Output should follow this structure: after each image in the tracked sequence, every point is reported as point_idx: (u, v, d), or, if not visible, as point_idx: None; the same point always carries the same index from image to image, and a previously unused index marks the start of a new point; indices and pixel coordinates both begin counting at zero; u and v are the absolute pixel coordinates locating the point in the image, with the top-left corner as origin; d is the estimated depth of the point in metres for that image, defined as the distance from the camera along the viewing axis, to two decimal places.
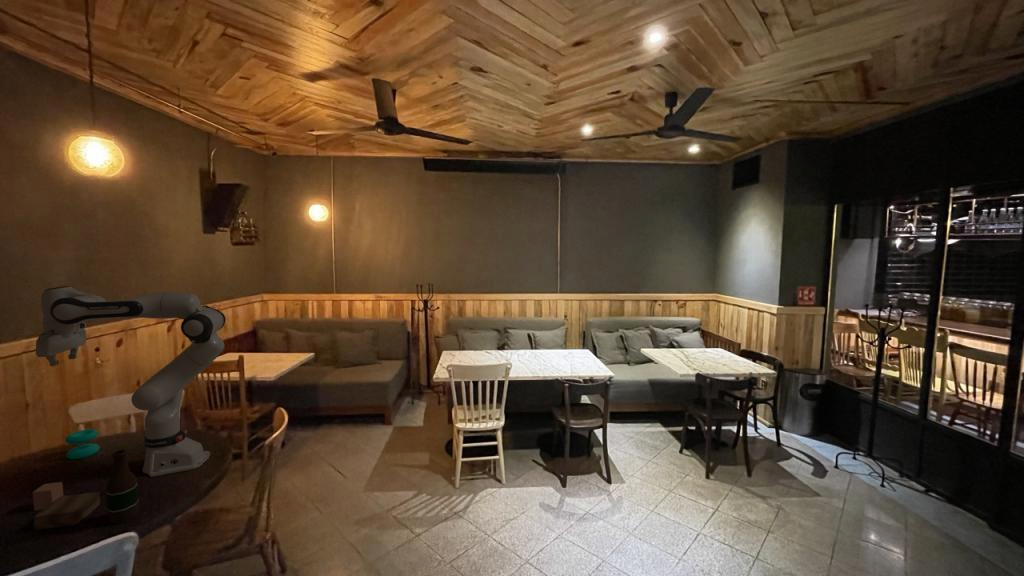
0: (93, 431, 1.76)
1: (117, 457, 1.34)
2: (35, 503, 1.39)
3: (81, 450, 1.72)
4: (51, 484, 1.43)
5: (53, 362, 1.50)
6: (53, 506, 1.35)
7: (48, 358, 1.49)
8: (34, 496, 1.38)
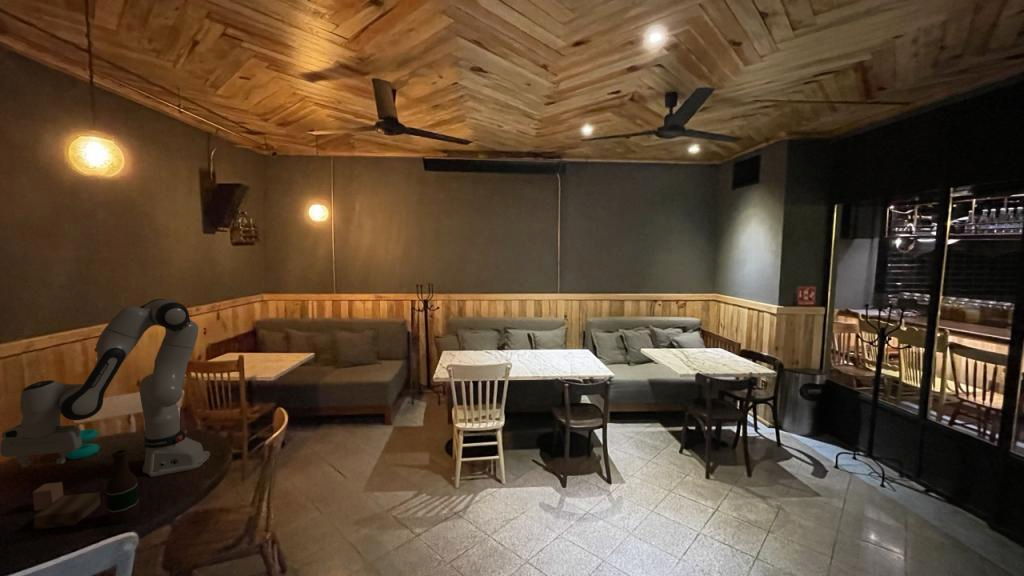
0: (93, 431, 1.76)
1: (117, 457, 1.34)
2: (35, 503, 1.39)
3: (81, 450, 1.72)
4: (51, 484, 1.43)
5: (64, 458, 1.42)
6: (53, 506, 1.35)
7: (65, 454, 1.41)
8: (34, 496, 1.38)
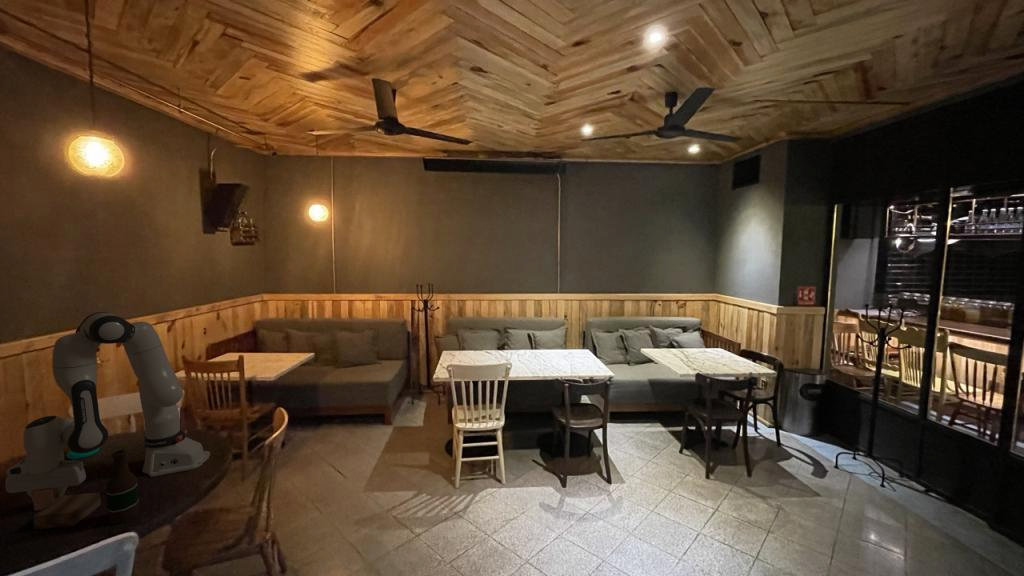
0: None
1: (117, 457, 1.33)
2: (35, 503, 1.39)
3: None
4: None
5: (63, 493, 1.43)
6: (53, 505, 1.35)
7: (64, 489, 1.42)
8: (34, 496, 1.38)
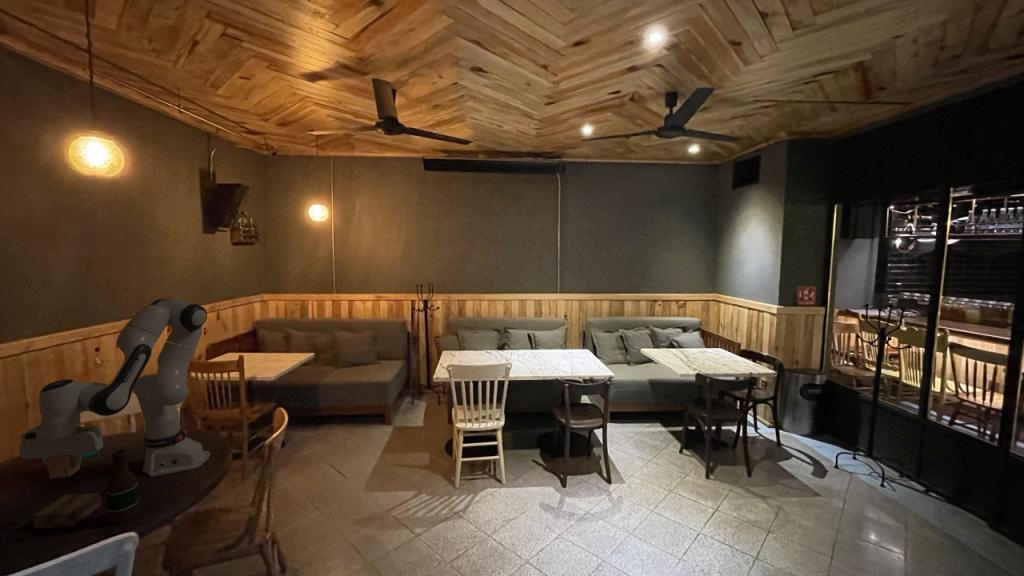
0: None
1: (117, 457, 1.34)
2: (50, 470, 1.32)
3: None
4: None
5: (79, 461, 1.36)
6: (54, 505, 1.35)
7: (81, 456, 1.36)
8: (49, 463, 1.31)
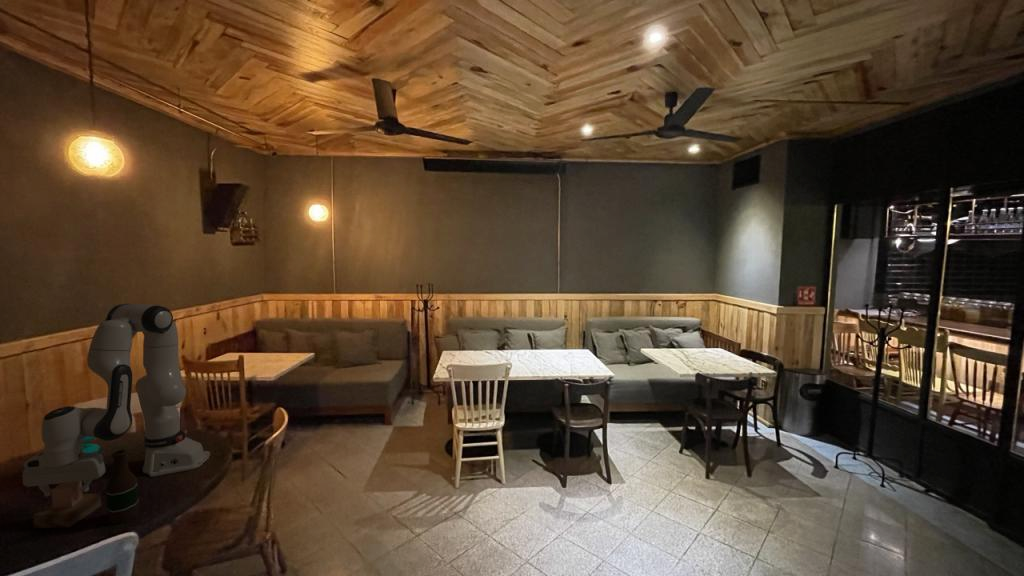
0: None
1: (117, 457, 1.33)
2: (54, 501, 1.33)
3: None
4: (70, 482, 1.37)
5: (87, 486, 1.38)
6: None
7: (89, 482, 1.37)
8: (53, 494, 1.33)
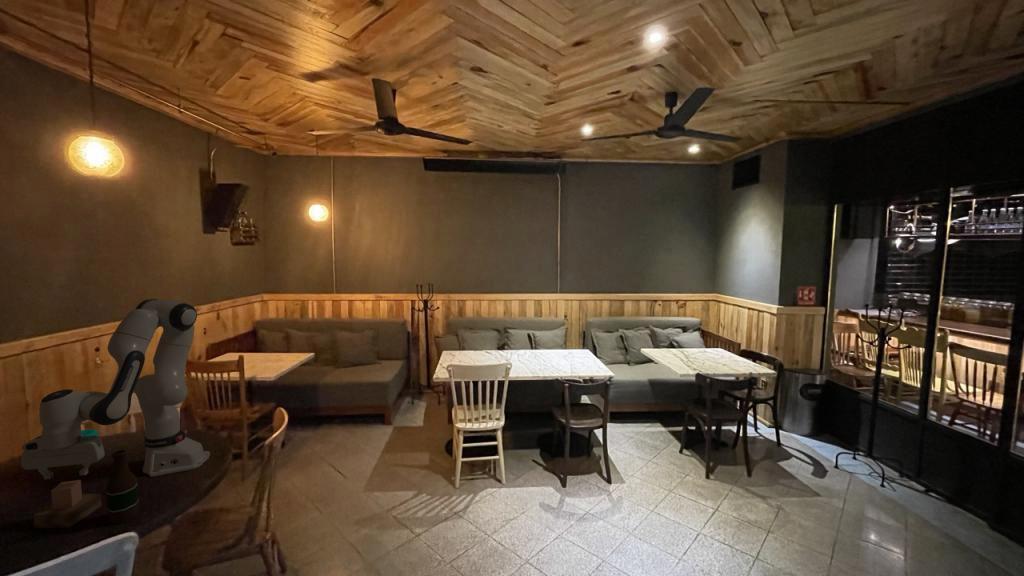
0: (93, 431, 1.76)
1: (117, 457, 1.33)
2: (54, 502, 1.33)
3: None
4: (69, 482, 1.37)
5: (87, 469, 1.37)
6: None
7: (88, 465, 1.37)
8: (53, 495, 1.33)
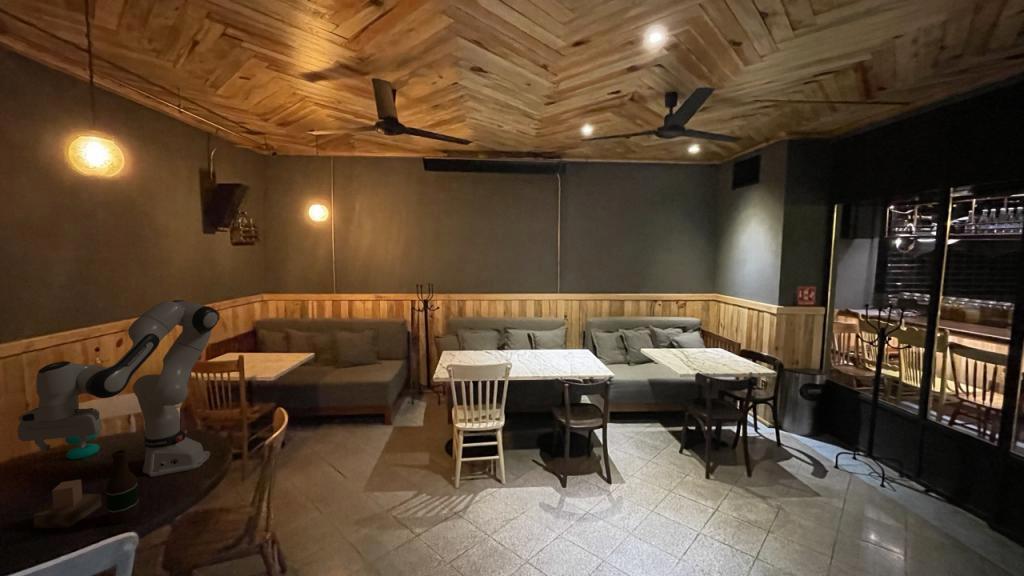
0: None
1: (117, 457, 1.33)
2: (55, 502, 1.33)
3: (81, 450, 1.72)
4: (70, 482, 1.37)
5: (84, 442, 1.36)
6: None
7: (85, 438, 1.35)
8: (54, 494, 1.33)
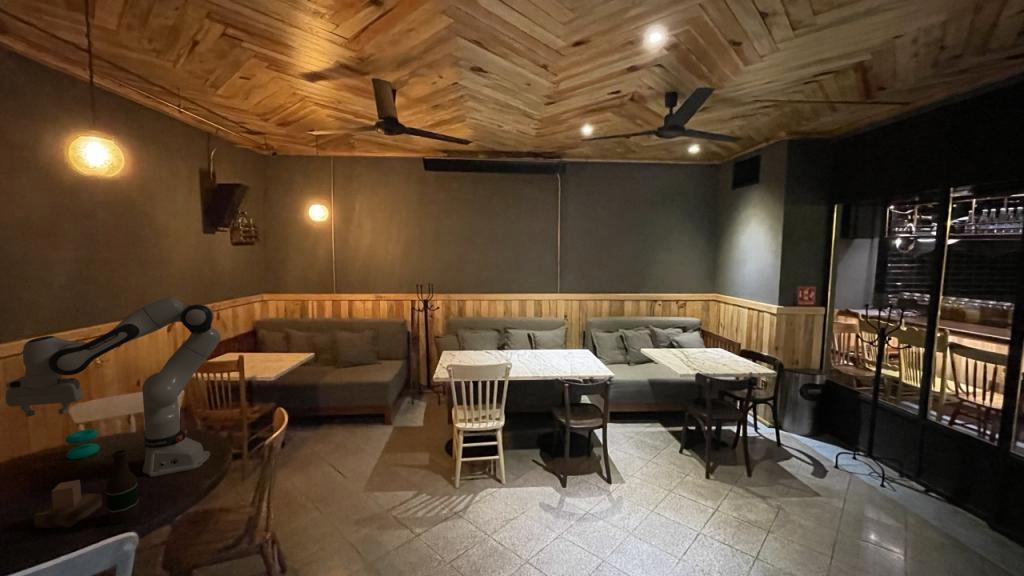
0: (93, 431, 1.76)
1: (117, 457, 1.34)
2: (54, 502, 1.33)
3: (81, 450, 1.72)
4: (68, 482, 1.37)
5: (65, 409, 1.51)
6: None
7: (66, 405, 1.50)
8: (53, 495, 1.32)
